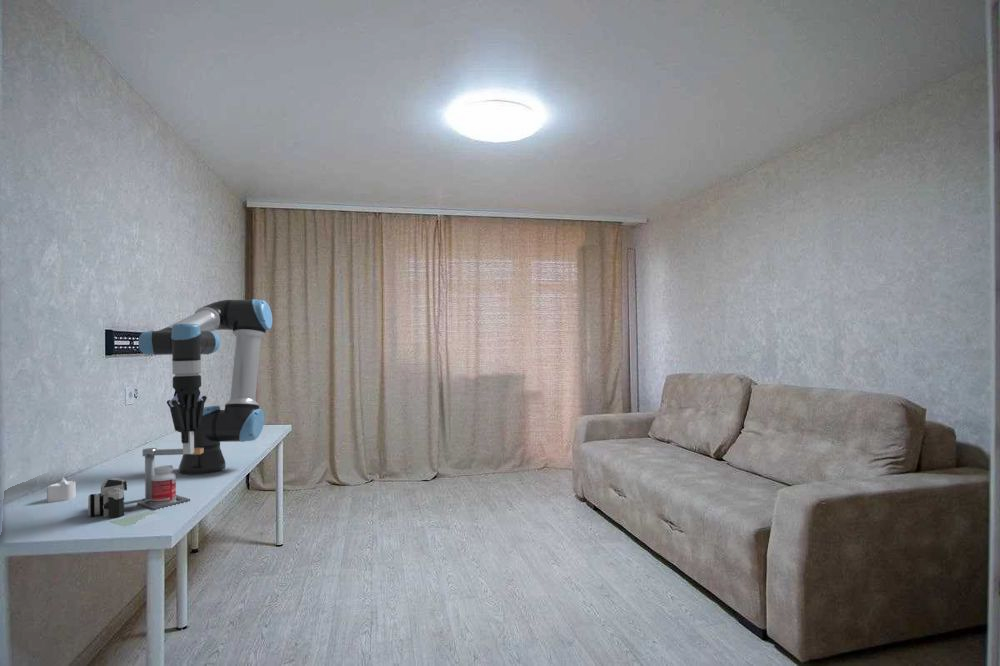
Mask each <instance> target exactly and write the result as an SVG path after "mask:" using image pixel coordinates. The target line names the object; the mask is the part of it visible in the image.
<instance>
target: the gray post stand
mask: <svg viewBox="0 0 1000 666" xmlns="http://www.w3.org/2000/svg"><path fill="white" fill-rule="evenodd" d="M155 465H156V464H155V455H154V456H147V457H144V471H145V472H144V486H145V487H144V489H145V491H144V492H145V493H144V495H145V497H144V498H141V500H142V501H138V502H136V504H137V505H136V506H140V507H142V508H146V509H150V510H152V509H153V511H157V509H158V510H161V509H160V508H162V509H165V508H164V507H166V508H169V507H168V506H170V507H173V506H172V505H174V506H176V504H177V505H181V504H184V502H185V503H188V501H189V502H191V498H189V497H184V496H181V495H177V494H176V499H177V500H176V502H172V503H168V504H164V505H160V506H154V505H152V487H151V479H152V477H153V476H154V475H155V473H154V468H155V467H156V466H155ZM180 503H181V504H180Z"/></svg>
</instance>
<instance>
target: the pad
mask: <svg viewBox="0 0 1000 666" xmlns="http://www.w3.org/2000/svg"><path fill="white" fill-rule="evenodd" d="M153 513H154V514H155V513H156V514H157V513H158V512H156V511H154V510H153V511H152V510H149V511H145V512H141V513H138V514H133V515H129V516H126V517H122V518H121V517H120V518H116V519H115V520H110V523H113V524H116V525H119V526H122V527H124V526H125V527H124V528H127V527H126V526H128V525H129V526H131V524H132V525H133V524H136V522H138V520H141V519H143V517H144V518H145V516H147V515H150V514H151V515H152V514H153Z"/></svg>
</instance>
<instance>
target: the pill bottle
mask: <svg viewBox="0 0 1000 666" xmlns="http://www.w3.org/2000/svg"><path fill="white" fill-rule="evenodd" d="M173 471H174V466H173V464H172V465H171V464H164V465H157V466H155V468H154V473H155V475H154V476H153V477H152V479H151V487H152V503H151V505H154V506H160V505H164V504H168V503H172V502H176V501H177V500H176V495H177V479H176V478H177V475H176V474H175V472H173Z"/></svg>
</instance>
